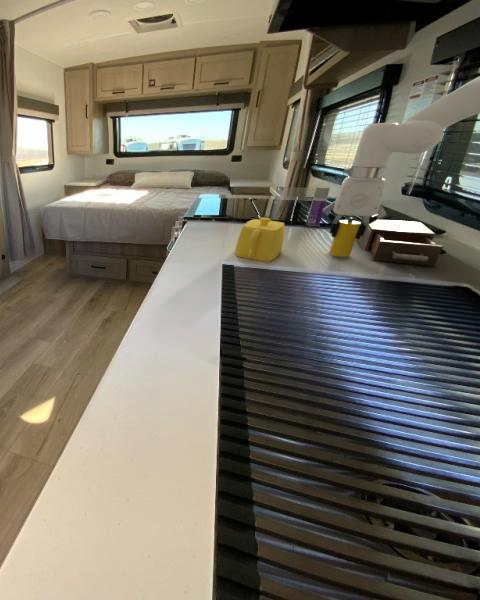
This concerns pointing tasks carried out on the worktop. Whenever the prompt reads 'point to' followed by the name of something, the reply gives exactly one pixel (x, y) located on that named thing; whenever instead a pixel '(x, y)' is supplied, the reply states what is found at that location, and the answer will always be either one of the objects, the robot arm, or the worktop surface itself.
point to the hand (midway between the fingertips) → (345, 236)
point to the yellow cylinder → (345, 238)
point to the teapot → (260, 240)
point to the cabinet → (393, 230)
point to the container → (317, 206)
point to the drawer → (404, 248)
